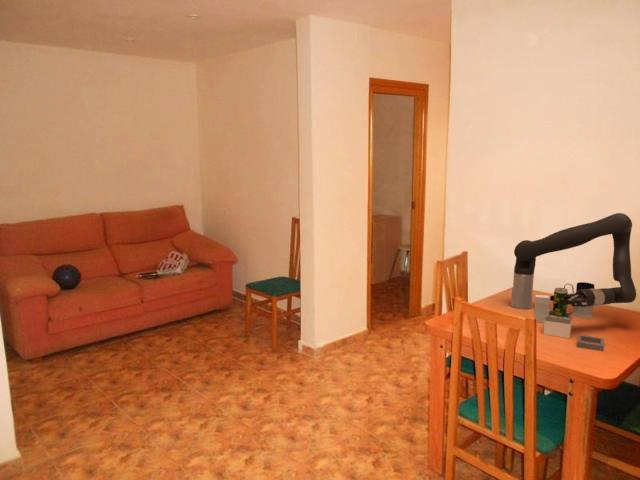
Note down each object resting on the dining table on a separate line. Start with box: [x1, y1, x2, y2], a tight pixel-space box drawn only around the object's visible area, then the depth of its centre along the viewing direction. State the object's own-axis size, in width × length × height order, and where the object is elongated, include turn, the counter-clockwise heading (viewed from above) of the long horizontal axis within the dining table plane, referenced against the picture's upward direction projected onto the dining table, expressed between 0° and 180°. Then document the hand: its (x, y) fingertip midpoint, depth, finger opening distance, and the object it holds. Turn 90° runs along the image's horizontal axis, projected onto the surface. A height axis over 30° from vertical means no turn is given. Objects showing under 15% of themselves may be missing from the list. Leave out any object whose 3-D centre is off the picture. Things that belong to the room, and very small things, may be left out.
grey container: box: [563, 281, 595, 319], centre depth 249 cm, size 9×14×15 cm, turn 41°
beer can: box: [552, 287, 569, 318], centre depth 223 cm, size 5×5×12 cm
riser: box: [543, 309, 573, 339], centre depth 225 cm, size 10×10×8 cm
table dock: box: [576, 334, 605, 352], centre depth 212 cm, size 9×9×2 cm
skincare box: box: [533, 294, 551, 324], centre depth 239 cm, size 6×4×12 cm
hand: (555, 300), depth 222 cm, fingers closed on beer can, 5 cm apart
